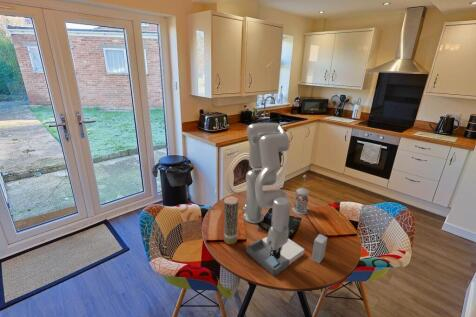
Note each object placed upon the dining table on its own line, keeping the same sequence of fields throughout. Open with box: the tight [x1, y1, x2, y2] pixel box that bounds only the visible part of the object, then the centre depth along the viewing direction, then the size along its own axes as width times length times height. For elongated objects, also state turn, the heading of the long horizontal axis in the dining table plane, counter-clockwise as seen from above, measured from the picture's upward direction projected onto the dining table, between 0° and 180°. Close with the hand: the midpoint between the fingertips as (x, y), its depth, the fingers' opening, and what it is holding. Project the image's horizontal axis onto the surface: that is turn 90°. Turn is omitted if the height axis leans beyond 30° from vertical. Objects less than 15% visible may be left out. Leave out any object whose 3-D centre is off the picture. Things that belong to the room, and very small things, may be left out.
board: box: [261, 236, 305, 265], centre depth 124 cm, size 18×12×3 cm, turn 39°
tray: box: [245, 238, 290, 277], centre depth 117 cm, size 19×10×4 cm, turn 39°
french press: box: [290, 174, 310, 215], centre depth 154 cm, size 10×12×25 cm
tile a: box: [265, 256, 280, 268], centre depth 113 cm, size 5×5×2 cm
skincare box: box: [311, 233, 328, 264], centre depth 117 cm, size 6×4×12 cm
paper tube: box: [223, 195, 239, 245], centre depth 125 cm, size 7×7×25 cm
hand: (276, 256), depth 114 cm, fingers closed
